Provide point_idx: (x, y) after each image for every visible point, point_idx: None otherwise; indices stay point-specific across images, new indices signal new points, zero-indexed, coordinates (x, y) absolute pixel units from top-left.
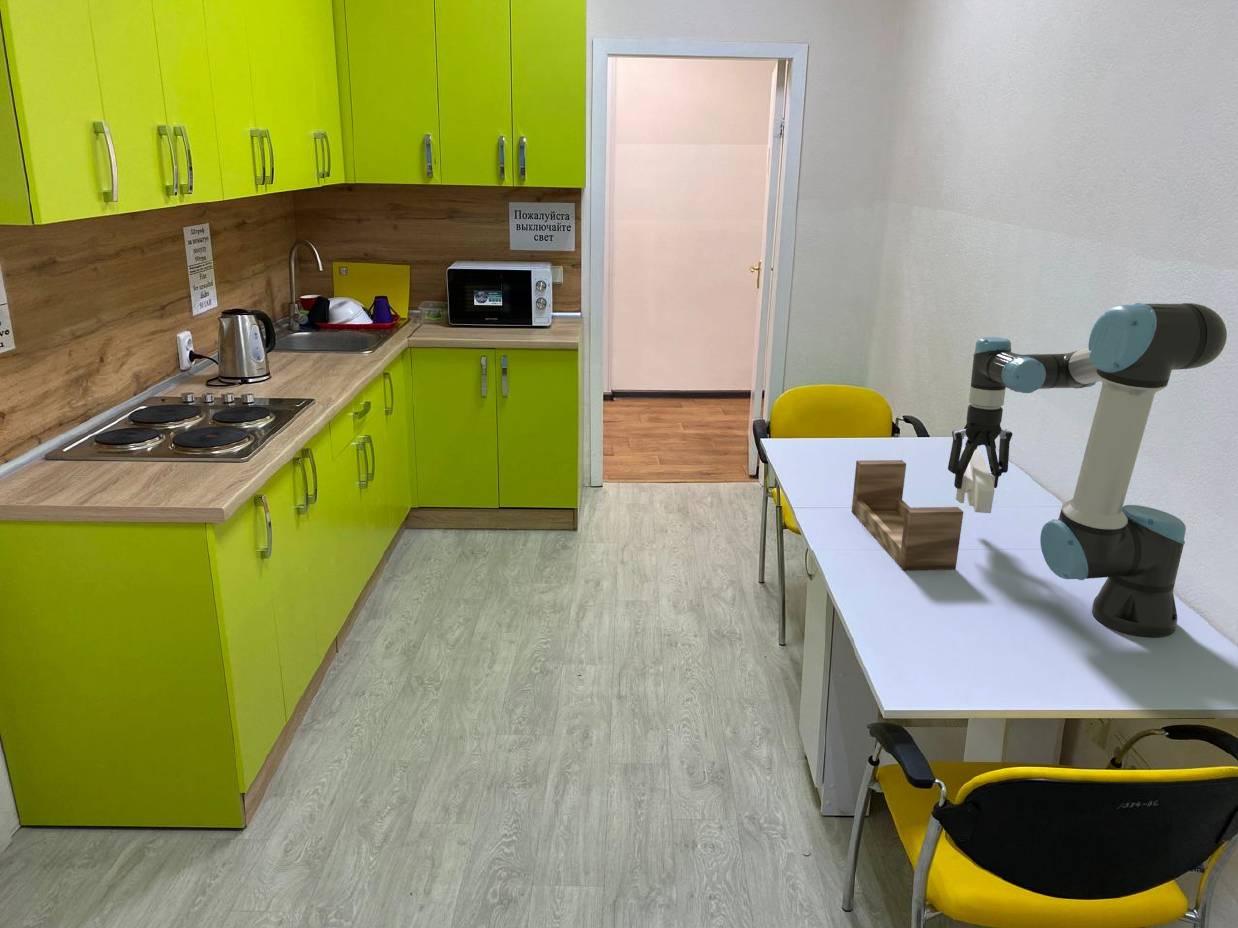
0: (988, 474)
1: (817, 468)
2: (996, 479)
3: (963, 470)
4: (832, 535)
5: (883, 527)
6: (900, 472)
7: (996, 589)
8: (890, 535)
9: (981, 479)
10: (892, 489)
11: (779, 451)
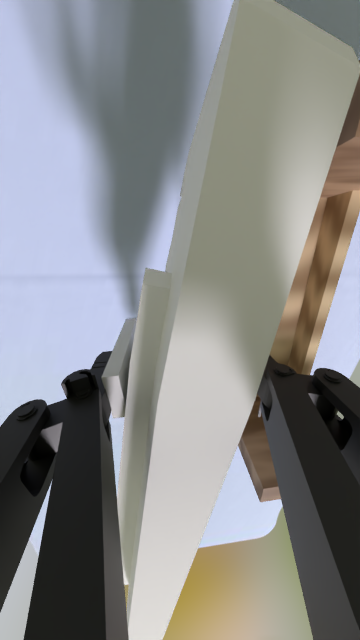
0: (193, 287)
1: (254, 495)
2: (95, 374)
3: (286, 385)
4: (352, 325)
5: (327, 305)
6: (263, 464)
7: (200, 29)
8: (340, 265)
9: (282, 204)
10: (257, 429)
11: (269, 520)
